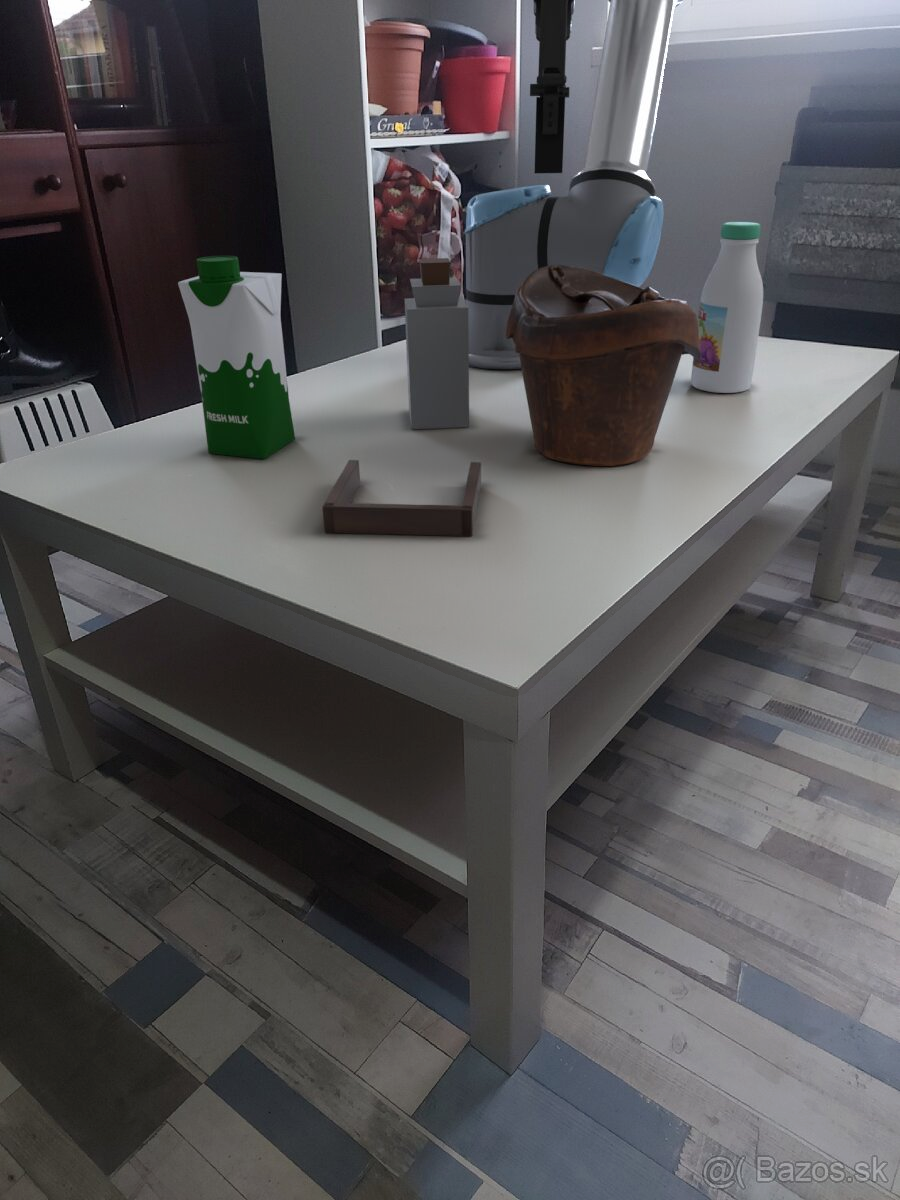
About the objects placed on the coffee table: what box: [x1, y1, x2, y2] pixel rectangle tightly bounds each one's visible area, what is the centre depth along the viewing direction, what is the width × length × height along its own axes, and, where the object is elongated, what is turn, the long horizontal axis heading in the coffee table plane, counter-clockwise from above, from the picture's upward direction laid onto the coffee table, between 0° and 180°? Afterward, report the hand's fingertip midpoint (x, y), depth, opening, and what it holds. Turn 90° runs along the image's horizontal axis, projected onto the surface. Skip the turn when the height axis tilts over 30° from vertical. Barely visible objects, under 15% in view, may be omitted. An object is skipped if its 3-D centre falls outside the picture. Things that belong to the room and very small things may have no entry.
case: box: [506, 265, 701, 467], centre depth 92 cm, size 18×20×18 cm
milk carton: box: [177, 255, 296, 460], centre depth 94 cm, size 9×9×20 cm
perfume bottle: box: [404, 257, 470, 430], centre depth 102 cm, size 7×7×18 cm
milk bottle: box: [690, 221, 764, 394], centre depth 113 cm, size 8×8×20 cm
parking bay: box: [321, 459, 482, 537], centre depth 82 cm, size 12×13×2 cm
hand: (548, 169), depth 93 cm, fingers open, 13 cm apart
